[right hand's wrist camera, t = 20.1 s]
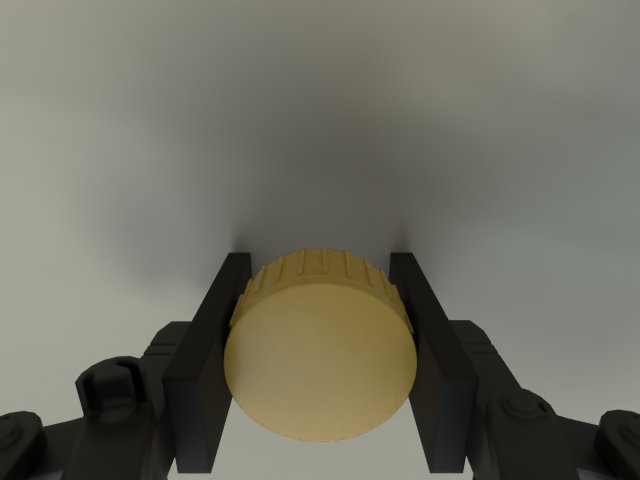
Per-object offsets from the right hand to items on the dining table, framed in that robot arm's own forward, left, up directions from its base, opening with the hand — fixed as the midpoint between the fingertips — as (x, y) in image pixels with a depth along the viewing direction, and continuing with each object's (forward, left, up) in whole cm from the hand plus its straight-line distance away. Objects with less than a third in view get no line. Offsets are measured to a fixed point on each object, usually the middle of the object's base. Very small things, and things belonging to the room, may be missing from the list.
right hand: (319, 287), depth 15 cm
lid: (0, 0, +4) cm, 4 cm away
